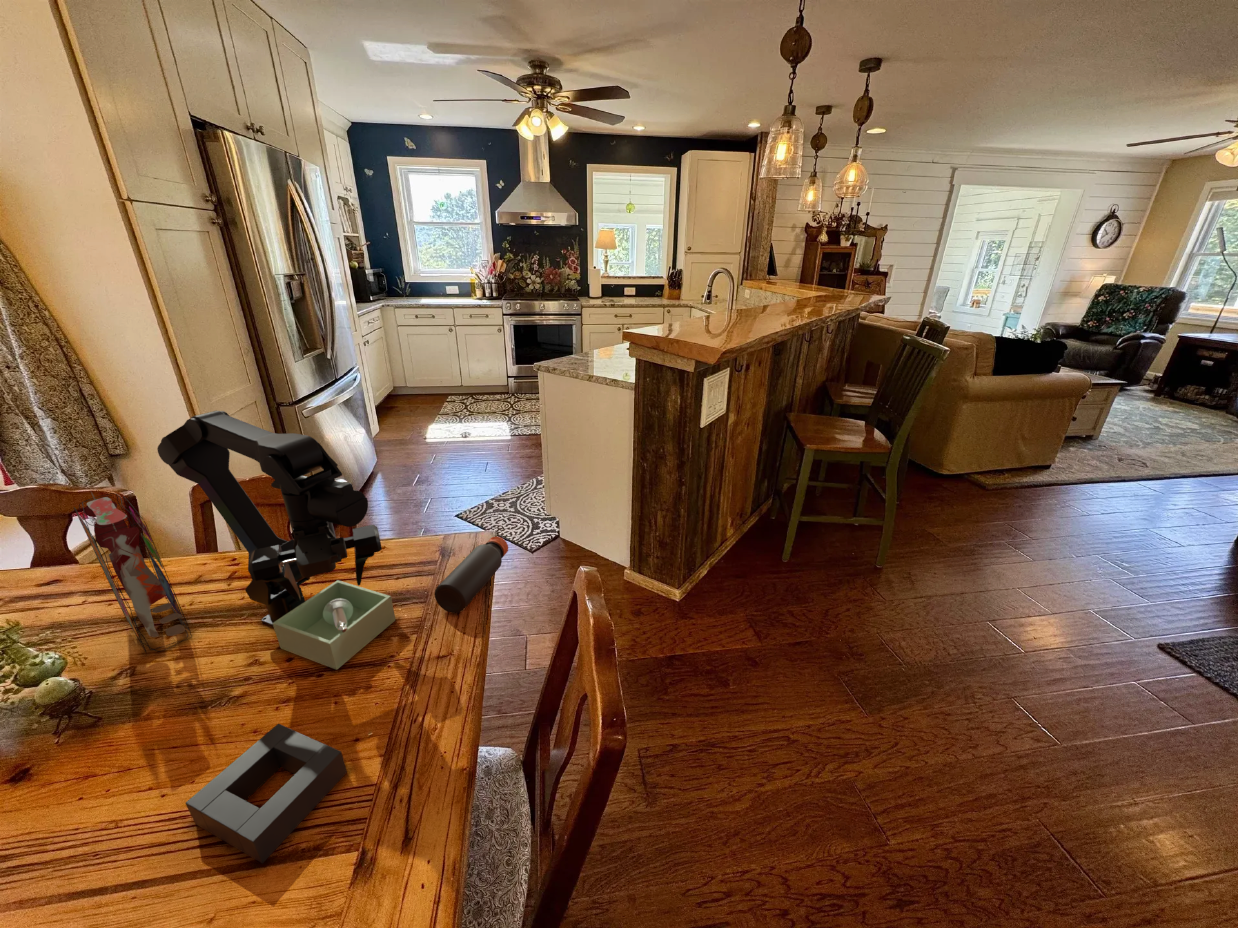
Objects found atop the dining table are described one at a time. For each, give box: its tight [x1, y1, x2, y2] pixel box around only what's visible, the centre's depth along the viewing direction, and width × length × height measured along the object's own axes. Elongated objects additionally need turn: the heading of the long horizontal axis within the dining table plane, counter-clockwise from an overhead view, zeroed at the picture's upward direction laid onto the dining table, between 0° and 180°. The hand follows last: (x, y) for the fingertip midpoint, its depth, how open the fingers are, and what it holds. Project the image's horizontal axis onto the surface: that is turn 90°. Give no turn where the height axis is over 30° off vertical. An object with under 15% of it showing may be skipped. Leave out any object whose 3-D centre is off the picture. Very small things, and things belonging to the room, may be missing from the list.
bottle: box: [434, 535, 509, 614], centre depth 103 cm, size 7×7×20 cm
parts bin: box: [272, 579, 397, 670], centre depth 89 cm, size 13×13×6 cm
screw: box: [323, 598, 353, 632], centre depth 87 cm, size 13×5×5 cm
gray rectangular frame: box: [185, 723, 348, 865], centre depth 62 cm, size 12×12×4 cm
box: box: [73, 491, 193, 654], centre depth 88 cm, size 25×6×24 cm, turn 53°
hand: (329, 591), depth 86 cm, fingers open, 9 cm apart
